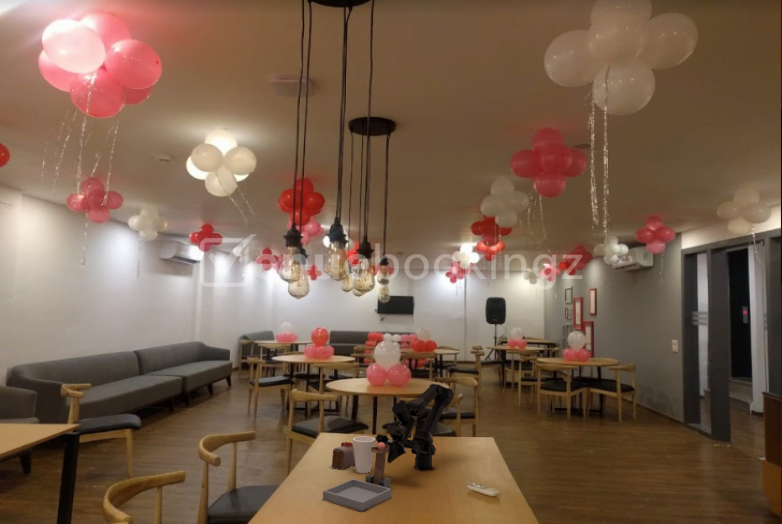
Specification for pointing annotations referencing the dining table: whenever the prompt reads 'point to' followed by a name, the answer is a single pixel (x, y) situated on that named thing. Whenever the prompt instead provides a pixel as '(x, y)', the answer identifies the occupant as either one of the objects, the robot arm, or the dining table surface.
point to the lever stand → (382, 482)
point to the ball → (381, 446)
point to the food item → (343, 456)
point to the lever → (379, 463)
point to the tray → (357, 494)
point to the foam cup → (363, 453)
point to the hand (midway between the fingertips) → (388, 462)
